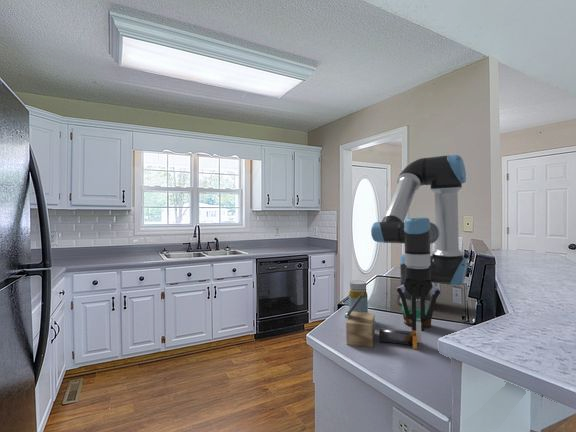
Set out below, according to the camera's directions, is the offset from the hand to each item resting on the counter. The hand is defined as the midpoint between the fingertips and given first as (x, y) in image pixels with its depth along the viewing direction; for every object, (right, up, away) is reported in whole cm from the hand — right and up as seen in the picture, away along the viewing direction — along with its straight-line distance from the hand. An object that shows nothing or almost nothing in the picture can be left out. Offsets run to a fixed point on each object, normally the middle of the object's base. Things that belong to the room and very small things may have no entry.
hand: (418, 340), depth 100 cm
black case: (-7, -2, +2) cm, 7 cm away
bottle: (-14, -1, +23) cm, 27 cm away
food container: (+6, -1, +16) cm, 17 cm away
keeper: (-18, +9, +6) cm, 21 cm away
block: (-17, -2, +6) cm, 18 cm away
